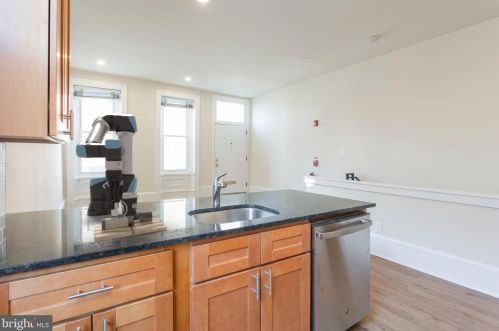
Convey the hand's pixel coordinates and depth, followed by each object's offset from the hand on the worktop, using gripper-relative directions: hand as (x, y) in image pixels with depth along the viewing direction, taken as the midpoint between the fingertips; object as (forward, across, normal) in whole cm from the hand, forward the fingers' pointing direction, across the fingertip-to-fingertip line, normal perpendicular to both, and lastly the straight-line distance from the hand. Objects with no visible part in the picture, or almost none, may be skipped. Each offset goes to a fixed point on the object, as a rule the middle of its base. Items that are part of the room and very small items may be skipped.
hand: (114, 215), depth 125 cm
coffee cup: (+6, +14, +4) cm, 16 cm away
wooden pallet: (+6, -1, -10) cm, 12 cm away
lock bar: (+4, -4, -6) cm, 8 cm away
